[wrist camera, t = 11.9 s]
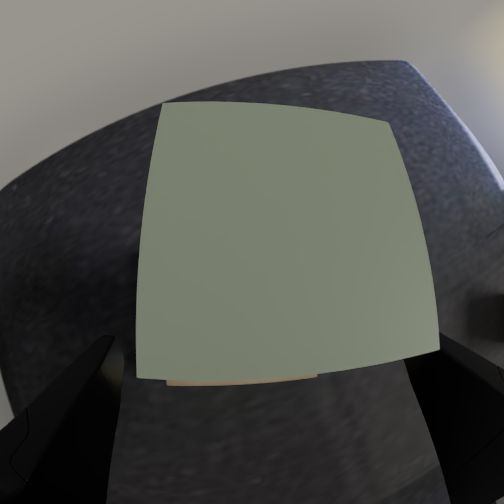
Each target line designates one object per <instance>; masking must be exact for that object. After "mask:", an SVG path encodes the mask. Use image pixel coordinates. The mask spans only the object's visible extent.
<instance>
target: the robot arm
mask: <svg viewBox="0 0 504 504" xmlns="http://www.w3.org/2000/svg"><path fill="white" fill-rule="evenodd" d="M439 343H440V350H437V351H433V352H429V353H425V354H421V355H417V356H413V357H409V358H405V359H404V362H405V366H406V369H407V372H408V375H409V379H410V382H411V385H412V387H413V390H414V392H415V395H416V397H417V400H418V402H419V405H420V408H421V410H422V413H423V415H424V418H425V421H426V424H427V426H428V429H429V432H430V435H431V438H432V441H433V444H434V447H435V450H436V453H437V456H438V459H439V462H440V465H441V469H442V472H443V475H444V479H445V483H446V487H447V490H448V494H449V498H450V502H451V504H492V503H493V504H504V369H502V368H500V367H499V366H496V365H495V364H494V363H492V362H490V361H488V360H487V359H485V358H483V357H482V356H480V355H478V354H476V353H475V352H473V351H471V350H470V349H468V348H466V347H464V346H463V345H461V344H459V343H457V342H456V341H454V340H452V339H450V338H449V337H447V336H445V335H443V334H442V333H440V332H439ZM123 368H124V356H123V353H122V350H121V347H120V344H119V341H118V338H117V337H116V336H108V335H104V336H102V337H101V338H99V339H98V340H97V341H96V342H95V343H94V344H93V345H92V346H91V347H89V348H88V349H87V350H86V351H85V352H84V353H83V354H82V355H81V356H79V357H78V358H77V359H76V360H75V361H74V362H73V363H72V364H71V365H70V366H69V367H67V368H66V369H65V370H64V371H63V372H62V373H61V374H60V375H59V376H58V377H57V378H56V379H55V380H53V381H52V382H51V383H50V384H49V385H48V386H47V387H46V388H45V389H44V390H43V391H42V392H41V393H40V394H39V395H38V396H37V397H36V398H35V399H33V400H32V401H31V402H30V403H29V404H28V405H27V408H26V407H25V408H24V409H23V410H22V411H21V412H20V413H19V414H18V415H17V416H16V417H15V418H14V419H13V420H11V421H10V422H9V423H8V424H7V425H6V426H5V427H4V428H3V429H1V430H0V504H106V499H107V489H108V480H109V472H110V464H111V457H112V450H113V444H114V438H115V432H116V426H117V421H118V415H119V409H120V401H121V388H122V378H123Z"/></svg>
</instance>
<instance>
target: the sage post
mask: <svg viewBox="0 0 504 504" xmlns="http://www.w3.org/2000/svg"><path fill="white" fill-rule="evenodd" d="M437 350H440V343H439V329H438V318H437V309H436V300H435V293H434V286H433V279H432V273H431V267H430V262H429V257H428V251H427V247H426V242H425V237H424V233H423V229H422V224H421V220H420V216H419V212H418V209H417V205H416V201H415V198H414V194H413V191H412V187H411V184H410V181H409V178H408V175H407V172H406V169H405V166H404V163H403V160H402V157H401V154H400V151H399V148H398V146H397V143H396V140H395V138H394V135H393V133H392V130H391V128H390V125H389V123H388V122H384V121H379V120H375V119H370V118H365V117H360V116H355V115H350V114H344V113H338V112H332V111H326V110H319V109H312V108H304V107H295V106H285V105H274V104H261V103H242V102H176V103H163V105H162V109H161V114H160V118H159V123H158V127H157V132H156V137H155V142H154V147H153V153H152V158H151V164H150V170H149V176H148V183H147V189H146V196H145V204H144V212H143V220H142V230H141V240H140V251H139V264H138V279H137V302H136V368H137V378H146V379H164V380H200V381H212V380H249V379H267V378H280V377H292V376H302V375H311V374H319V373H327V372H334V371H341V370H348V369H354V368H360V367H365V366H371V365H376V364H381V363H386V362H391V361H396V360H400V359H405V358H409V357H413V356H417V355H421V354H425V353H429V352H433V351H437Z"/></svg>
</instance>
